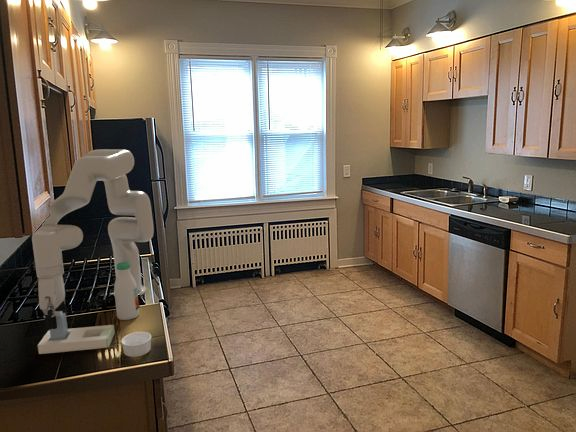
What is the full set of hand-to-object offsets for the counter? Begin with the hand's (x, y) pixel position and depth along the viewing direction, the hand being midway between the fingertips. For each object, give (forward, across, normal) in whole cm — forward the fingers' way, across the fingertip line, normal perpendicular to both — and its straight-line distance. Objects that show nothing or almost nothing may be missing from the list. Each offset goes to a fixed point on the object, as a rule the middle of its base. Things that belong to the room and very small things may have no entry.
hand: (56, 322), depth 149 cm
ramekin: (+8, +8, +25) cm, 28 cm away
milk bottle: (+8, -19, +18) cm, 27 cm away
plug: (+8, -1, 0) cm, 8 cm away
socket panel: (+8, -1, +5) cm, 10 cm away
